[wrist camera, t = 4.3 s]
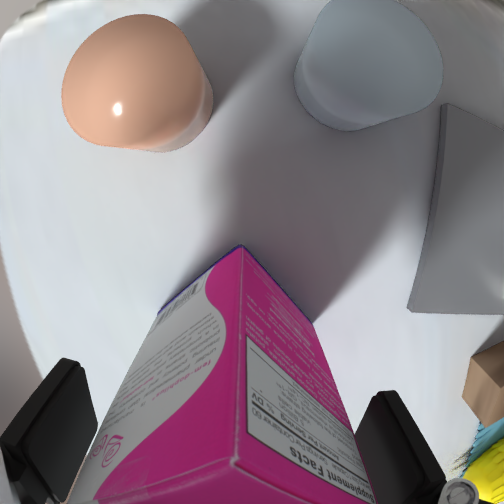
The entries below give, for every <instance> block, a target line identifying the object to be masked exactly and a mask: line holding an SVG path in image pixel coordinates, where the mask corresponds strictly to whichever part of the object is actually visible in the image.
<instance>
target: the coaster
mask: <svg viewBox="0 0 504 504" xmlns="http://www.w3.org/2000/svg"><path fill="white" fill-rule="evenodd" d="M407 308H408V309H409V310H410V311H411V312H416V313H441V314H481V315H504V130H502V129H500V128H499V127H497V126H495V125H493V124H491V123H489V122H487V121H485V120H483V119H481V118H479V117H477V116H475V115H473V114H471V113H468V112H466V111H464V110H462V109H460V108H457V107H455V106H453V105H450V104H448V103H447V104H443V105H441V124H440V139H439V150H438V160H437V168H436V176H435V184H434V190H433V197H432V203H431V209H430V214H429V220H428V225H427V230H426V235H425V240H424V244H423V249H422V253H421V257H420V261H419V265H418V269H417V273H416V277H415V281H414V285H413V288H412V292H411V295H410V299H409V302H408V305H407Z"/></svg>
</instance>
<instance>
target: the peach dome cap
mask: <svg viewBox="0 0 504 504" xmlns="http://www.w3.org/2000/svg"><path fill="white" fill-rule="evenodd" d="M61 98H62V107H63V111H64V114H65V117H66V119H67V121H68V123H69V125H70V126H71V128H72V129H73V130H74V131H75V132H76V133H77V134H78V135H79V136H80V137H81V138H83V139H85V140H86V141H88V142H91V143H93V144H97V145H101V146H109V147H118V148H126V149H134V150H142V151H150V152H169V151H173V150H177V149H179V148H181V147H183V146H185V145H187V144H189V143H190V142H191V141H193V140H194V139H195V138H196V137H197V136H198V135H199V134H200V133H201V132H202V131H203V129H204V128H205V126H206V125H207V123H208V121H209V119H210V116H211V113H212V108H213V92H212V87H211V85H210V82H209V80H208V78H207V76H206V74H205V72H204V70H203V68H202V67H201V65H200V63H199V61H198V59H197V57H196V55H195V53H194V51H193V49H192V47H191V45H190V44H189V42H188V40H187V38H186V36H185V35H184V33H183V32H182V31H181V30H180V29H179V28H178V27H177V26H176V25H175V24H173V23H172V22H170V21H168V20H167V19H164V18H162V17H159V16H155V15H148V14H136V15H130V16H125V17H122V18H118V19H116V20H114V21H111V22H109V23H107V24H105V25H104V26H102V27H101V28H99V29H98V30H96V31H95V32H94V33H92V34H91V35H90V36H89V37H88V38H87V39H86V40H85V41H84V42H83V43H82V44H81V46H80V47H79V48H78V49H77V51H76V52H75V54H74V55H73V57H72V59H71V61H70V63H69V65H68V67H67V69H66V72H65V75H64V79H63V84H62V96H61Z"/></svg>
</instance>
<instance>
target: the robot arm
mask: <svg viewBox="0 0 504 504" xmlns="http://www.w3.org/2000/svg"><path fill="white" fill-rule="evenodd" d="M97 427H98V422H97V418H96V415H95V411H94V407H93V404H92V400H91V396H90V392H89V387H88V383H87V379H86V374H85V370H84V368H83V367H81V365H80V363H79V362H77V361H74V360H70V359H67V358H61V359H60V360H59V362H58V363H57V364H56V365H55V366H54V368H53V369H52V370H51V371H50V373H49V374H48V375H47V376H46V378H45V379H44V380H43V381H42V383H41V384H40V385H39V386H38V388H37V389H36V390H35V391H34V393H33V394H32V395H31V397H30V398H29V399H28V401H27V402H26V403H25V404H24V406H23V407H22V408H21V410H20V411H19V412H18V413H17V415H16V416H15V417H14V419H13V420H12V422H11V423H10V424H9V426H8V427H7V428H6V430H5V431H4V433H3V434H2V436H1V437H0V504H45V503H48V504H60V502H64V501H65V500H66V498H67V496H68V493H69V491H70V489H71V486H72V484H73V482H74V479H75V477H76V475H77V472H78V470H79V468H80V466H81V464H82V462H83V459H84V457H85V455H86V453H87V451H88V448H89V446H90V444H91V442H92V440H93V438H94V436H95V434H96V431H97ZM355 438H356V441H357V444H358V447H359V450H360V452H361V455H362V458H363V461H364V464H365V466H366V469H367V472H368V475H369V478H370V481H371V484H372V487H373V490H374V493H375V496H376V499H377V502H378V504H494V503H491V502H488V501H484V500H481V499H479V492H478V489H477V487H476V486H475V484H473V483H472V482H471V481H469V480H467V479H464V478H455V479H452V480H450V481H448V482H447V481H446V479H445V478H446V476H445V474H444V472H443V471H442V469H441V467H440V465H439V463H438V462H437V460H436V458H435V456H434V454H433V453H432V451H431V449H430V447H429V446H428V444H427V442H426V440H425V438H424V437H423V435H422V433H421V432H420V430H419V428H418V426H417V425H416V423H415V421H414V420H413V418H412V416H411V414H410V413H409V411H408V409H407V408H406V406H405V404H404V403H403V401H402V399H401V398H400V396H399V394H398V393H397V392H396V391H395V390H391V391H379V392H378V393H377V394H376V396H373V397H372V399H371V401H370V403H369V405H368V407H367V410H366V412H365V414H364V416H363V418H362V420H361V422H360V424H359V427H358V429H357V431H356V433H355Z"/></svg>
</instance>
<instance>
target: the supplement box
mask: <svg viewBox="0 0 504 504" xmlns="http://www.w3.org/2000/svg"><path fill="white" fill-rule="evenodd" d="M67 504H378V502H377V499H376V496H375V493H374V490H373V487H372V484H371V481H370V478H369V475H368V472H367V469H366V466H365V464H364V461H363V458H362V455H361V452H360V450H359V447H358V444H357V441H356V438H355V435H354V433H353V430H352V427H351V424H350V421H349V419H348V416H347V413H346V411H345V408H344V405H343V403H342V400H341V398H340V395H339V393H338V390H337V387H336V384H335V382H334V379H333V376H332V373H331V371H330V368H329V365H328V363H327V360H326V358H325V355H324V352H323V350H322V347H321V345H320V342H319V339H318V337H317V334H316V332H315V329H314V327H313V324H312V323H311V322H310V321H309V319H308V318H307V317H306V316H305V315H304V314H303V312H302V311H301V310H300V309H299V308H298V307H297V306H296V305H295V303H294V302H293V301H292V300H291V299H290V298H289V296H288V295H287V294H286V293H285V292H284V291H283V290H282V288H281V287H280V286H279V285H278V284H277V283H276V281H275V280H274V279H273V278H272V277H271V276H270V275H269V273H268V272H267V271H266V270H265V269H264V268H263V267H262V266H261V264H260V263H259V262H258V261H257V260H256V259H255V258H254V257H253V255H252V254H251V253H250V252H249V251H248V250H247V249H246V248H245V247H244V246H243V245H238V246H237V247H235V248H234V249H232V250H231V251H230V252H228V253H227V254H226V255H225V256H223V257H222V258H221V259H220V260H218V261H217V262H216V263H215V264H214V265H212V266H211V267H210V268H209V269H207V270H206V271H205V272H204V273H203V274H202V275H200V276H199V277H198V278H197V279H196V280H194V281H193V282H192V283H191V284H190V285H188V286H187V287H186V288H185V289H184V290H183V291H181V292H180V293H179V294H178V295H177V296H176V297H175V298H173V299H172V300H171V301H170V302H169V303H168V304H167V305H166V306H164V307H163V308H162V309H161V310H160V311H159V312H158V314H157V317H156V319H155V321H154V322H153V324H152V326H151V328H150V330H149V332H148V334H147V336H146V338H145V340H144V342H143V344H142V346H141V348H140V349H139V351H138V353H137V355H136V357H135V359H134V361H133V363H132V365H131V366H130V368H129V370H128V372H127V374H126V376H125V378H124V380H123V382H122V384H121V386H120V388H119V390H118V392H117V394H116V396H115V398H114V400H113V402H112V404H111V406H110V408H109V410H108V412H107V414H106V416H105V419H104V421H103V423H102V425H101V427H100V429H99V432H98V434H97V436H96V438H95V440H94V442H93V445H92V447H91V449H90V452H89V453H88V455H87V458H86V460H85V463H84V465H83V467H82V469H81V471H80V474H79V476H78V478H77V481H76V483H75V485H74V488H73V490H72V493H71V495H70V497H69V500H68V502H67Z"/></svg>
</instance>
